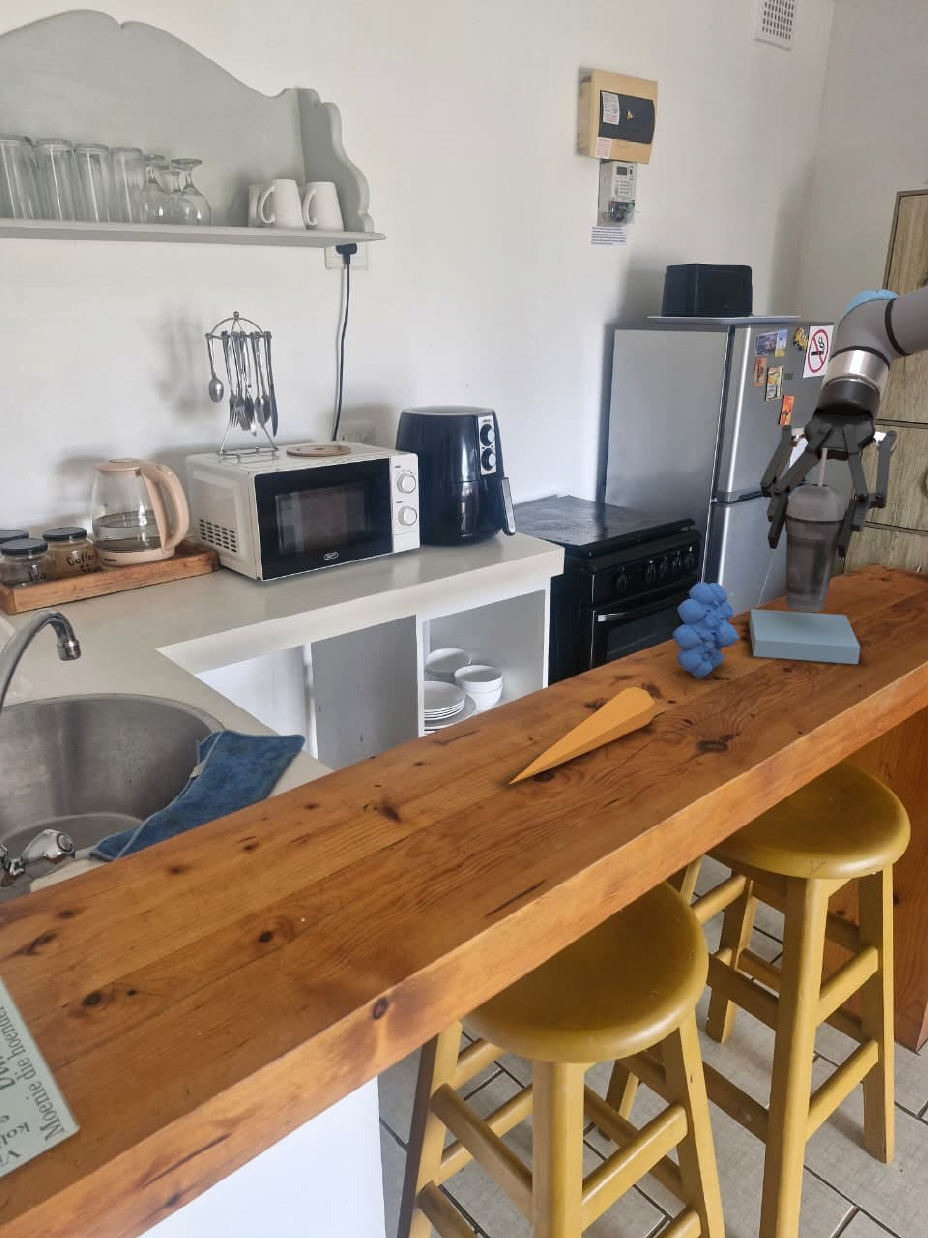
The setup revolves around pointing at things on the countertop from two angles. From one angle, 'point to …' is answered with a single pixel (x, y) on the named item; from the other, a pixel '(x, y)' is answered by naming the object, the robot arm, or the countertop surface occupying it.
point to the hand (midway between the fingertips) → (806, 546)
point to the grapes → (704, 629)
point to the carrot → (598, 729)
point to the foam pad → (803, 636)
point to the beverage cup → (812, 542)
